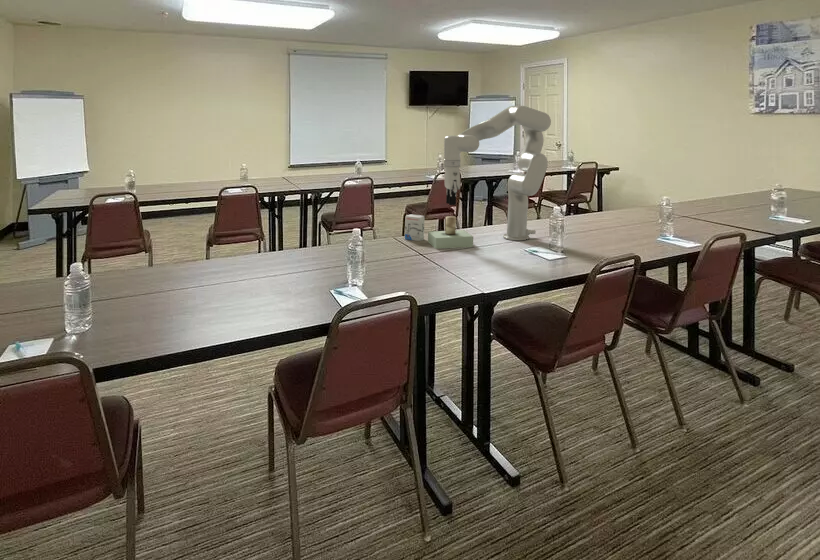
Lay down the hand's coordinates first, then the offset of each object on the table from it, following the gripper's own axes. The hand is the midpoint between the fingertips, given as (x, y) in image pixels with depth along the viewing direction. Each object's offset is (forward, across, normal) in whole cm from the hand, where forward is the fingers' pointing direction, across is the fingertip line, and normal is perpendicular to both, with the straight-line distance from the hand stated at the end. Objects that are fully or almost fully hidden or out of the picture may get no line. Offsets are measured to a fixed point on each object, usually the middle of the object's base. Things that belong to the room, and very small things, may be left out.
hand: (451, 203), depth 253 cm
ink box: (+20, +14, +14) cm, 28 cm away
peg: (+18, 0, 0) cm, 18 cm away
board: (+19, 0, 0) cm, 19 cm away
